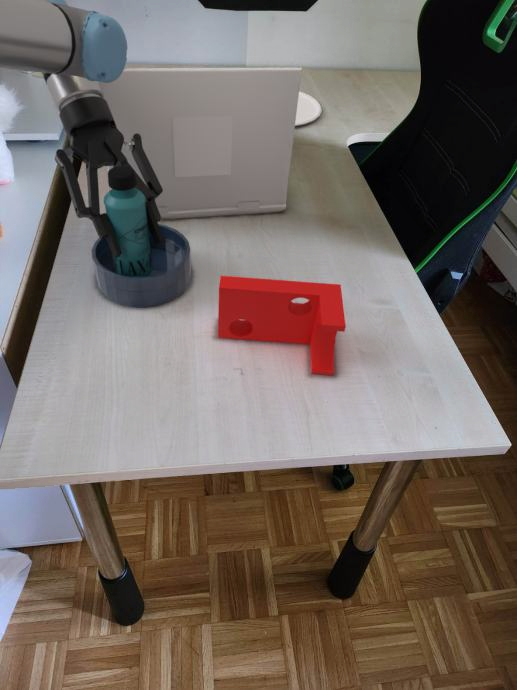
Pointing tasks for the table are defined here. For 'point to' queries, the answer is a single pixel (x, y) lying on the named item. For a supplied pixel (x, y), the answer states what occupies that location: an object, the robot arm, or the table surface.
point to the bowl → (152, 290)
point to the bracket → (283, 315)
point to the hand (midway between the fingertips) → (139, 248)
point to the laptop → (210, 135)
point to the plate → (307, 109)
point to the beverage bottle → (128, 223)
